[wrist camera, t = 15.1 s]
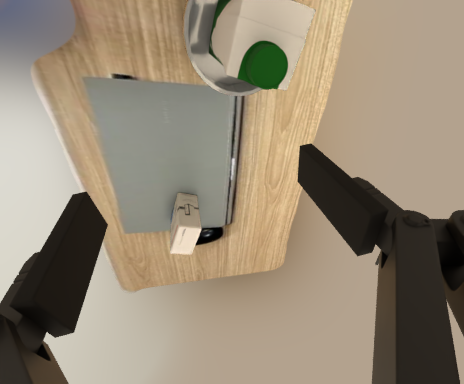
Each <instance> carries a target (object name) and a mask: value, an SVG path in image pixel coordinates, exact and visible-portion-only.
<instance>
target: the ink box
mask: <svg viewBox="0 0 464 384" xmlns="http://www.w3.org/2000/svg"><path fill="white" fill-rule="evenodd" d="M200 232H201V222H200V215H199V208H198V200H197V196H196V195H190V194H185V193H178V194H177V198H176V202H175V206H174V209H173V213H172V217H171V237H170V254H182V255H191V254H192V251H193V249H194V247H195V244H196V242H197V239H198V237H199V234H200Z"/></svg>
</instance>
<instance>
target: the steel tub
mask: <svg viewBox="0 0 464 384" xmlns="http://www.w3.org/2000/svg"><path fill="white" fill-rule="evenodd" d="M217 3H218V0H187V1H186V5H185V8H184V13H183V19H182V35H183V40H184V45H185V49H186V52H187V54H188V56H189V58H190V61H191V63H192V65H193V67H194V69H195V71H196V72H197V73H198V74H199V76H200V77H201V78H202V80H203V81H204V82H205V83H207V84H208V85H209V86H210V87H212V88H213V89H214V90H216V91H219V92H221V93H223V94H226V95H232V96H244V95H250V94H254V93H256V92H258V91H260V90H262V88H259V87H257V86H254V85H251V84H249V83H248V82H246V81H243V80H239V79H237V78H236V77H232V76H228V75H226V73H225V69H224V66H223V65H222V64H221V63H219V62H218V61H217V60H216V59H215V58H214V57H213V56H211V55H210V54H209V44H210V36H211V30H212V24H213V19H214V14H215V11H216V7H217Z"/></svg>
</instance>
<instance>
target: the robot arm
mask: <svg viewBox="0 0 464 384" xmlns="http://www.w3.org/2000/svg"><path fill="white" fill-rule="evenodd" d="M298 182H299V184H300V185H301V186H302V187H303V189H304V190H305V191H306V192H307V194H308V195H309V196H310V197H311V199H312V200H313V201H314V202H315V203H316V205H317V206H318V207H319V209H320V210H321V211H322V212H323V214H324V215H325V216H326V217H327V219H328V220H329V221H330V222H331V224H332V225H333V226H334V227H335V229H336V230H337V231H338V232H339V234H340V235H341V236H342V237H343V239H344V240H345V241H346V242H347V243H348V245H349V246H350V247H351V248H352V250H353V251H354V252H355V254H356V255H357V256H360V255H364V254H368V253H372V251H373V249H374V247H375V244H376V245H377V246H378V247H379V248H380V249H381V252H380V254H379V256H378V259H377V261H376V265H378V264H379V269H378V287H377V304H376V306H377V307H376V321H375V338H374V357H373V374H372V384H460V380H459V374H458V368H457V362H456V356H455V350H454V344H453V338H452V332H451V326H450V320H449V314H448V308H447V302H448V304H449V306H450V308H451V310H452V312H453V314H454V317H455V319H456V321H457V323H458V325H459V327H460V329H461V332H462V334H463V336H464V210H458V211H455V212H453V213H452V215H451V216H450V218H449V219H429V218H428V217H427V216H425V215H423V214H421V213H419V212H416V211H410V210H403V209H402V208H400V207H399V206H398V205H396V204H395V203H394V202H393V201H392V200H390V199H389V198H388V197H387V196H385V195H384V194H383V193H381V192H380V191H379V190H378V189H377V188H375V187H374V186H373V185H372V184H370V183H369V182H368V181H366V180H363V179H361V178H359V177H356V178H351V177H350V176H349V175H347V174H346V173H345V172H344V171H343V170H342V169H340V168H339V167H338V166H337V165H335V163H333V162H332V161H331V160H330V159H329V158H328V157H326V156H325V155H324V154H323V153H322V152H321V151H319V150H318V149H317V148H316V147H315V146H314V145H312V144H307V145H302V146H300V152H299V168H298ZM107 226H108V224H107V223H106V221H105V220H104V218H103V217H102V215H101V213H100V212H99V210H98V209H97V207H96V206H95V204H94V202H93V201H92V199H91V198H90V196H89V195H88V193H87V192H82V193H78V194H73V195H72V197H71V199H70V201H69V202H68V204H67V206H66V208H65V209H64V211H63V213H62V215H61V216H60V218H59V220H58V221H57V223H56V225H55V227H54V228H53V230H52V232H51V234H50V235H49V237H48V239H47V241H46V242H45V244H44V246H43V247H42V249H41V251H40V252H37V253H34V254H33V255H32V256H31V257H30V258H29V259H28V260H27V261H26V262H25V264H24V265H23V267H22V269H21V270H20V272H19V275H17V277H16V278H15V280H14V284H12V285H11V286H10V288H9V290H8V291H7V293H6V295H5V296H4V298H3V300H2V301H1V303H0V384H68V382H67V380H66V378H65V376H64V374H63V372H62V371H61V369H60V367H59V365H58V363H57V361H56V359H55V358H54V356H53V354H52V352H51V350H50V348H49V346H48V345H47V344H46V343H45V342H44V341H43V339H44V337H45V334H46V332H48V333H49V334H51V335H52V336H54V337H55V338H56V337H59V336H63V335H67V334H70V333H73V332H74V330H75V328H76V324H77V321H78V318H79V315H80V311H81V308H82V305H83V302H84V299H85V296H86V292H87V289H88V286H89V283H90V280H91V276H92V274H93V270H94V267H95V264H96V261H97V258H98V255H99V251H100V248H101V245H102V242H103V239H104V235H105V232H106V229H107ZM446 299H447V302H446Z"/></svg>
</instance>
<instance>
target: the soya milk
mask: <svg viewBox="0 0 464 384" xmlns="http://www.w3.org/2000/svg"><path fill="white" fill-rule="evenodd" d="M315 11H316V10H315V9H313V8H310V7H308V6H306V5H303V4H301V3H298V2H296V1H293V0H218V3H217V7H216V11H215V14H214V19H213V24H212V30H211V36H210V44H209V54H210V55H211V56H213V57H214V58H215V59H216V60H217V61H218V62H219V63H221V64H222V65H223V66H224V69H225V73H226V75H228V76H232V77H236V78H237V79H239V80H243V81H246V82H248V83H249V84H251V85H254V86H257V87H259V88H262V89H268V90H269V89H281V90H285V91H286V90H287V88H288V86H289V83H290V80H291V78H292V75H293V73H294V70H295V67H296V65H297V62H298V59H299V57H300V54H301V52H302V50H303V48H304V45H305V42H306V39H305V38H306V36H307V33H308V30H309V27H310V25H311V22H312V19H313V17H314V14H315Z"/></svg>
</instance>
